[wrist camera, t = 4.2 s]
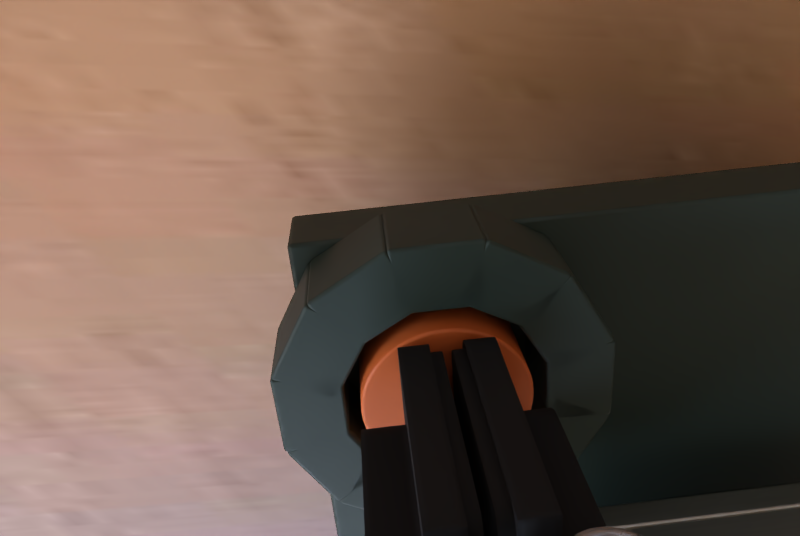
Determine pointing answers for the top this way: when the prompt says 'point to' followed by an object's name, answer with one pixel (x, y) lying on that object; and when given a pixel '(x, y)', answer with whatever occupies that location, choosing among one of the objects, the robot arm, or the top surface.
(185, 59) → the top surface
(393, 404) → the button
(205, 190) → the top surface
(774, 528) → the pan
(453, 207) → the scale
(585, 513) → the robot arm
